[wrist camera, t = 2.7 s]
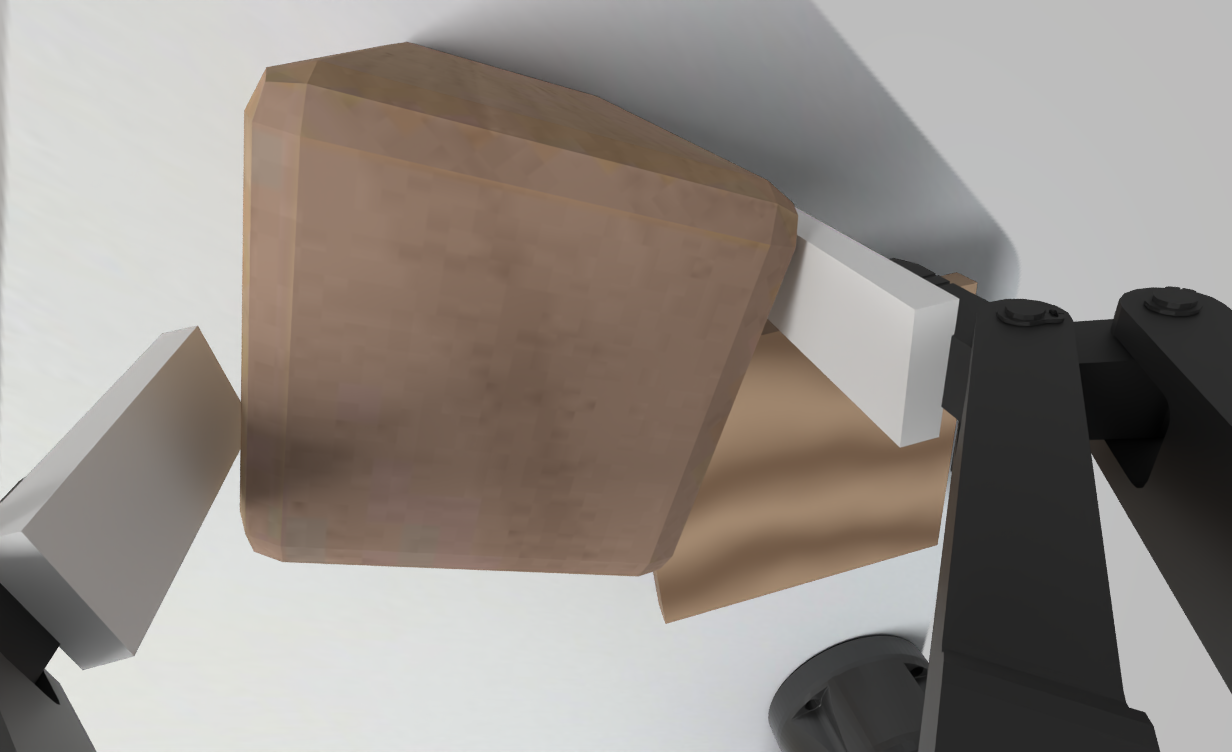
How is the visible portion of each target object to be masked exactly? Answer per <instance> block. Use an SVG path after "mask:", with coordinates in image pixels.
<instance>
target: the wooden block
mask: <svg viewBox="0 0 1232 752" xmlns="http://www.w3.org/2000/svg"><path fill="white" fill-rule="evenodd" d="M797 226H798V214H797V211H796V209H795V207H794V204H793V203H792V202H791V201H790V200H789V199H788V198H787V197H786V196H785V195H783V194H782V193H781V192H780V191H779V190H778V189H777V188H776V187H775V186H773V185H772V184H771V183H770V182H769V181H768V180H766V179H764V178H762V177H760V176H758V175H756V174H754V173H752V172H750V171H748V170H746V169H744V168H742V167H740V166H738V165H736V164H734V163H732V162H729V161H727V160H725V159H723V158H721V157H719V156H717V155H715V154H713V153H711V152H709V151H707V150H705V149H703V148H701V147H699V146H697V145H695V144H693V143H691V142H689V141H687V140H685V139H683V138H681V137H679V136H677V135H675V134H673V133H671V132H669V131H667V130H664V129H662V128H660V127H658V126H656V125H654V124H652V123H650V122H648V121H646V120H644V119H642V118H640V117H638V116H636V115H634V114H632V113H630V112H628V111H626V110H624V109H622V108H620V107H618V106H616V105H614V104H612V103H610V102H608V101H606V100H604V99H601V98H599V97H597V96H594V95H591V94H587V93H584V92H580V91H577V90H573V89H570V88H566V87H563V86H559V85H556V84H552V83H549V82H545V81H542V80H538V79H535V78H531V77H528V76H524V75H521V74H517V73H514V72H510V71H507V70H503V69H500V68H496V67H493V66H489V65H486V64H483V63H479V62H476V61H472V60H469V59H465V58H462V57H458V56H455V55H451V54H448V53H444V52H441V51H437V50H434V49H430V48H427V47H423V46H420V45H416V44H413V43H409V42H404V43H397V44H390V45H384V46H379V47H373V48H368V49H363V50H357V51H352V52H347V53H341V54H336V55H330V56H325V57H320V58H314V59H309V60H304V61H298V62H293V63H288V64H282V65H277V66H271V67H266V69H265V71H264V73H263V75H262V77H261V79H260V81H259V83H258V85H257V87H256V89H255V91H254V93H253V95H252V97H251V99H250V101H249V103H248V105H247V107H246V109H245V110H244V187H243V276H242V366H241V456H240V513H241V517H242V521H243V526H244V530H245V534H246V536H247V538H248V540H249V542H250V544H251V546H252V548H253V550H254V552H257V553H260V554H262V555H265V556H268V557H271V558H273V559H276V560H279V561H282V562H297V563H322V564H346V565H371V566H396V567H420V568H445V569H470V570H495V571H519V572H544V573H569V574H593V575H618V576H641V575H644V574H647V573H650V572H653V571H656V570H660V569H661V568H662V567H663V566H664V564H665V563H666V562H667V561H668V560H669V559H670V558H671V557H672V556H673V554H674V551H675V549H676V546H677V544H678V541H679V539H680V536H681V534H682V531H683V529H684V526H685V524H686V521H687V519H688V516H689V514H690V511H691V509H692V506H693V504H694V501H695V499H696V496H697V494H698V491H699V489H700V486H701V484H702V481H703V479H704V476H705V474H706V471H707V469H708V466H709V464H710V461H711V459H712V456H713V454H714V451H715V449H716V446H717V444H718V441H719V439H720V436H721V434H722V431H723V429H724V426H725V424H726V421H727V419H728V416H729V414H730V411H731V409H732V406H733V404H734V401H735V399H736V396H737V394H738V391H739V389H740V386H741V384H742V381H743V379H744V376H745V374H746V371H747V369H748V366H749V364H750V361H751V359H752V356H753V354H754V351H755V348H756V346H757V343H758V341H759V338H760V336H761V333H762V331H763V328H764V326H765V323H766V321H767V318H768V316H769V313H770V311H771V308H772V306H773V303H774V301H775V298H776V296H777V293H778V291H779V288H780V286H781V283H782V281H783V278H784V276H785V273H786V271H787V268H788V266H789V263H790V261H791V258H792V256H793V253H794V251H795V248H796V238H797Z"/></svg>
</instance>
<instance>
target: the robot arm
mask: <svg viewBox="0 0 1232 752" xmlns="http://www.w3.org/2000/svg"><path fill="white" fill-rule="evenodd" d="M795 209H796V211H797V214H798V226H797V238H796V248H795V251H794V253H793V256H792V258H791V261H790V263H789V266H788V268H787V271H786V273H785V276H784V278H783V281H782V283H781V286H780V288H779V291H778V293H777V296H776V298H775V301H774V303H773V306H772V308H771V311H770V313H769V316H768V318H767V319H768V320H769V321H770V322H771V323H772V324H773V325H774V326H775V327H776V328H777V329H779V330H780V331H781V332H782V333H783V334H784V335H785V336H786V337H787V338H788V339H789V340H790V341H791V342H792V343H793V344H794V345H795V346H796V347H797V348H798V349H799V350H800V351H801V352H802V353H803V354H804V355H805V356H806V357H807V358H808V359H809V360H810V361H811V362H812V363H813V364H815V365H816V366H817V367H818V368H819V369H820V370H821V371H822V372H823V373H824V374H825V375H826V376H827V377H828V378H829V379H830V380H831V381H832V382H833V383H834V384H835V385H836V386H837V387H838V388H839V389H840V390H841V391H842V392H843V393H844V394H845V395H846V396H847V397H848V398H849V399H851V400H852V401H853V402H854V403H855V404H856V405H857V406H858V407H859V408H860V409H861V410H862V411H863V412H864V413H865V414H866V415H867V416H868V417H869V418H870V419H871V420H872V421H873V422H874V423H875V424H876V425H877V426H878V427H879V428H880V429H881V430H882V431H883V432H884V433H885V434H887V435H888V436H889V437H890V438H891V439H892V440H893V441H894V442H895V443H896V444H897V445H898V446H899V447H904V446H908V445H912V444H915V443H919V442H923V441H926V440H930V439H934V438H937V437H939V433H940V426H941V420H942V413H943V409H945V410H946V411H947V412H948V413H950V414H951V415H952V416H953V417H955V418H956V419H957V420H958V421H959V423H958V429H957V435H956V441H955V447H954V453H953V459H952V465H951V471H952V476H951V484H950V492H949V500H948V509H947V517H946V525H945V533H944V542H943V550H942V558H941V567H940V575H939V583H938V591H937V600H936V608H935V617H934V625H933V633H932V641H931V649H930V658H929V663H928V661H927V660H926V659H925V658H924V656H923V655H922V653H921V652H920V650H919V649H918V648H917V647H916V646H915V645H914V644H912V643H911V642H909V641H907V640H905V639H902V638H899V637H893V636H871V637H865V638H860V639H856V640H852V641H849V642H846V643H843V644H840V645H837V646H835V647H833V648H831V649H828V650H826V651H824V652H823V653H821V654H819V655H817V656H816V657H814V658H812V659H811V660H809V661H808V662H806V663H805V664H804V665H802V666H801V667H800V668H798V669H797V670H796V671H795V672H794V673H793V674H792V675H791V676H790V677H789V678H788V679H787V680H786V681H785V682H784V683H783V684H782V686H781V687H780V688H779V690H778V691H777V693H776V694H775V696H774V698H773V700H772V702H771V705H770V709H769V724H770V727H771V729H772V731H773V734H774V736H775V738H776V740H777V743H778V745H779V747H780V749H781V751H782V752H1160V750H1159V745H1158V742H1157V738H1156V734H1155V730H1154V726H1153V724H1152V723H1151V721H1150V720H1149V718H1148V716H1147V715H1146V713H1145V712H1142V711H1139V710H1135V709H1132V708H1129V707H1128V705H1127V703H1126V700H1125V696H1124V691H1123V685H1122V677H1121V670H1120V663H1119V656H1118V648H1117V640H1116V633H1115V626H1114V619H1113V611H1112V604H1111V597H1110V589H1109V582H1108V574H1107V567H1106V560H1105V553H1104V545H1103V537H1102V530H1101V523H1100V515H1099V508H1098V501H1097V493H1096V486H1095V479H1094V472H1093V464H1092V457H1091V454H1092V455H1093V457H1094V459H1095V460H1096V462H1097V464H1098V466H1099V467H1100V469H1101V471H1102V472H1103V474H1104V476H1105V478H1106V479H1107V481H1108V482H1109V484H1110V486H1111V488H1112V489H1113V491H1114V493H1115V494H1116V496H1117V498H1118V500H1119V502H1120V503H1121V505H1122V507H1123V508H1124V510H1125V511H1126V514H1127V515H1128V517H1129V519H1130V520H1131V522H1132V524H1133V526H1134V527H1135V529H1136V530H1137V532H1138V534H1139V536H1140V538H1141V539H1142V541H1143V543H1144V544H1145V546H1146V548H1147V550H1148V551H1149V553H1150V555H1151V556H1152V558H1153V560H1154V561H1155V563H1156V565H1157V566H1158V568H1159V570H1160V572H1161V573H1162V575H1163V577H1164V579H1165V580H1166V582H1167V584H1168V585H1169V587H1170V589H1171V591H1172V592H1173V594H1174V596H1175V597H1176V599H1177V601H1178V602H1179V604H1180V606H1181V608H1182V609H1183V611H1184V613H1185V615H1186V616H1187V618H1188V620H1189V621H1190V623H1191V625H1192V626H1193V628H1194V630H1195V632H1196V633H1197V635H1198V637H1199V639H1200V640H1201V642H1202V644H1203V645H1204V647H1205V649H1206V650H1207V652H1208V653H1209V656H1210V657H1211V659H1212V661H1213V662H1214V664H1215V666H1216V668H1217V669H1218V671H1219V673H1220V674H1221V676H1222V678H1223V680H1224V681H1225V683H1226V685H1227V687H1228V688H1229V690H1230V692H1231V693H1232V310H1231V309H1230V308H1229V307H1227V306H1226V305H1225V304H1223V303H1222V302H1220V301H1218V300H1216V299H1214V298H1212V297H1210V296H1207V295H1203V294H1200V293H1197V292H1196V291H1194V290H1190V289H1185V288H1183V289H1180V288H1179V287H1165V288H1144V289H1136V290H1133V291H1130V292H1127V293H1124V294H1123V296H1122V297H1121V298H1120V299H1119V302H1118V305H1117V309H1116V312H1115V315H1114V319H1108V320H1093V321H1079V322H1073V320H1072V318H1071V316H1070V315H1069V313H1068V312H1066V311H1064V310H1063V309H1061V308H1059V307H1057V306H1055V305H1051V304H1048V303H1045V302H1041V301H1034V300H1027V299H1004V300H998V301H993V302H988V301H986V300H984V299H982V298H981V297H979V296H977V295H975V294H973V293H971V292H969V291H967V290H966V289H964V288H962V287H960V286H958V285H956V284H954V283H951V284H950V281H949V280H947V279H945V278H943V277H941V276H939V275H938V276H936V275H935V273H934V272H932V271H930V270H928V269H926V268H924V267H922V266H921V265H919V264H915V263H911V262H907V261H903V260H899V259H895V258H892V259H887V258H885V257H884V256H882V255H880V254H878V253H876V252H875V251H873V250H871V249H869V248H868V247H866V246H864V245H862V244H860V243H859V242H857V241H855V240H853V239H851V238H850V237H848V236H846V235H844V234H842V233H841V232H839V231H837V230H835V229H834V228H832V227H830V226H828V225H826V224H825V223H823V222H821V221H819V220H817V219H816V218H814V217H812V216H810V215H808V214H807V213H805V212H803V211H801V210H799V209H798V208H796V207H795ZM240 449H241V402H240V400H239V398H238V396H237V394H236V393H235V391H234V389H233V387H232V386H231V384H230V382H229V380H228V378H227V377H226V375H225V373H224V371H223V370H222V368H221V366H220V364H219V363H218V361H217V359H216V357H215V355H214V354H213V352H212V350H211V348H210V347H209V345H208V343H207V341H206V339H205V338H204V336H203V334H202V332H201V331H200V329H199V327H198V326H194V327H189V328H185V329H180V330H175V331H171V332H166V333H162V334H161V335H160V336H159V337H158V338H157V339H156V340H155V341H154V343H153V344H152V345H151V346H150V347H149V348H148V349H147V350H146V351H145V352H144V353H143V354H142V355H141V356H140V357H139V358H138V359H137V360H136V361H135V363H134V364H133V365H132V366H131V367H130V368H129V369H128V370H127V371H126V372H125V373H124V374H123V375H122V376H121V377H120V378H119V379H118V380H117V381H116V382H115V384H114V385H113V386H112V387H111V388H110V389H109V390H108V391H107V392H106V393H105V394H104V395H103V396H102V397H101V398H100V399H99V400H98V401H97V402H96V404H95V405H94V406H93V407H92V408H91V409H90V410H89V411H88V412H87V413H86V414H85V415H84V416H83V417H82V418H81V419H80V420H79V421H78V422H77V423H76V425H75V426H74V427H73V428H72V429H71V430H70V431H69V432H68V433H67V434H66V435H65V436H64V437H63V438H62V439H61V440H60V441H59V442H58V443H57V445H56V446H55V447H54V448H53V449H52V450H51V451H50V452H49V453H48V454H47V455H46V456H45V457H44V458H43V459H42V460H41V461H40V462H39V463H38V464H37V466H36V467H35V468H34V469H33V470H32V471H31V472H30V473H29V474H28V475H27V476H26V477H25V478H23V479H22V480H20V481H19V482H18V483H17V484H16V485H15V486H14V487H13V488H12V489H11V490H10V491H9V492H8V494H7V495H6V496H5V497H4V498H3V499H2V500H1V501H0V752H96V750H95V748H94V746H93V744H92V743H91V741H90V739H89V737H88V735H87V733H86V731H85V729H84V728H83V726H82V724H81V722H80V720H79V718H78V716H77V715H76V713H75V711H74V709H73V707H72V705H71V703H70V701H69V700H68V698H67V696H66V694H65V692H64V690H63V688H62V687H61V685H60V683H59V682H58V681H57V680H56V679H55V678H54V677H53V676H52V675H50V674H49V673H48V672H47V671H46V670H45V667H46V666H47V664H48V662H49V661H50V659H51V658H52V656H53V655H54V653H55V652H56V650H57V648H58V647H60V648H61V649H62V650H63V651H64V652H65V653H66V654H67V655H68V656H69V657H70V658H71V659H72V660H73V661H74V662H75V663H76V664H77V665H78V666H79V667H80V668H81V669H82V670H85V669H89V668H93V667H96V666H100V665H104V664H107V663H111V662H115V661H118V660H122V659H126V658H129V657H133V656H135V654H136V652H137V650H138V648H139V646H140V644H141V642H142V640H143V638H144V636H145V634H146V632H147V630H148V628H149V626H150V624H151V622H152V620H153V618H154V617H155V615H156V613H157V611H158V609H159V607H160V605H161V603H162V601H163V599H164V597H165V595H166V593H167V591H168V589H169V587H170V585H171V583H172V581H173V579H174V577H175V576H176V574H177V572H178V570H179V568H180V566H181V564H182V562H183V560H184V558H185V556H186V554H187V552H188V550H189V548H190V546H191V544H192V542H193V540H194V538H195V537H196V535H197V533H198V531H199V529H200V527H201V525H202V523H203V521H204V519H205V517H206V515H207V513H208V511H209V509H210V507H211V505H212V503H213V501H214V499H215V497H216V496H217V494H218V492H219V490H220V488H221V486H222V484H223V482H224V480H225V478H226V476H227V474H228V472H229V470H230V468H231V466H232V464H233V462H234V460H235V458H236V457H237V455H238V453H239V451H240Z"/></svg>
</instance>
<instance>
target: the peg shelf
mask: <svg viewBox="0 0 1232 752" xmlns="http://www.w3.org/2000/svg"><path fill="white" fill-rule="evenodd" d="M941 277H943V278H945V279H947V280H949V281H950V284H951V283H954V284H956V285H958V286H960V287H962V288H964V289H966V290H967V291H969V292H971V293H973V294H975V295H976V289H977V282H975V281H973V280H971V279H969V278H967V277H965V276H963V275H961V274H959V273H957V272H956V273H952V274H948V275H944V276H941ZM956 420H957V419H956V418H955V417H953V416H952V415H951V414H950V413H948V412H947V411H946V410H945V409H943V413H942V420H941V426H940V433H939V437H937V438H934V439H930V440H926V441H923V442H919V443H915V444H912V445H908V446H904V447H899V446H898V445H897V444H896V443H895V442H894V441H893V440H892V439H891V438H890V437H889V436H888V435H887V434H885V433H884V432H883V431H882V430H881V429H880V428H879V427H878V426H877V425H876V424H875V423H874V422H873V421H872V420H871V419H870V418H869V417H868V416H867V415H866V414H865V413H864V412H863V411H862V410H861V409H860V408H859V407H858V406H857V405H856V404H855V403H854V402H853V401H852V400H851V399H849V398H848V397H847V396H846V395H845V394H844V393H843V392H842V391H841V390H840V389H839V388H838V387H837V386H836V385H835V384H834V383H833V382H832V381H831V380H830V379H829V378H828V377H827V376H826V375H825V374H824V373H823V372H822V371H821V370H820V369H819V368H818V367H817V366H816V365H815V364H813V363H812V362H811V361H810V360H809V359H808V358H807V357H806V356H805V355H804V354H803V353H802V352H801V351H800V350H799V349H798V348H797V347H796V346H795V345H794V344H793V343H792V342H791V341H790V340H789V339H788V338H787V337H786V336H785V335H784V334H783V333H782V332H781V331H780V330H779V329H777V328H776V327H775V326H774V325H773V324H772V323H771V322H770V321H769V320H768V319H767V321H766V323H765V326H764V328H763V331H762V333H761V336H760V338H759V341H758V343H757V346H756V348H755V351H754V354H753V356H752V359H751V361H750V364H749V366H748V369H747V371H746V374H745V376H744V379H743V381H742V384H741V386H740V389H739V391H738V394H737V396H736V399H735V401H734V404H733V406H732V409H731V411H730V414H729V416H728V419H727V421H726V424H725V426H724V429H723V431H722V434H721V436H720V439H719V441H718V444H717V446H716V449H715V451H714V454H713V456H712V459H711V461H710V464H709V466H708V469H707V471H706V474H705V476H704V479H703V481H702V484H701V486H700V489H699V491H698V494H697V496H696V499H695V501H694V504H693V506H692V509H691V511H690V514H689V516H688V519H687V521H686V524H685V526H684V529H683V531H682V534H681V536H680V539H679V541H678V544H677V546H676V549H675V551H674V554H673V556H672V557H671V558H670V559H669V560H668V561H667V562H666V563H665V564H664V566H663V567H662V568H661V569H660V570H656V571H653V574H654V579H655V585H656V591H657V596H658V602H659V606H660V609H661V612H662V615H663V618H664V621H665V624H667V623H670V622H674V621H677V620H681V619H684V618H687V617H691V616H694V615H698V614H701V613H705V612H708V611H711V610H715V609H718V608H722V607H725V606H729V605H732V604H736V603H739V602H742V601H746V600H749V599H753V598H756V597H760V596H763V595H767V594H770V593H773V592H777V591H780V590H784V589H787V588H791V587H794V586H798V585H801V584H804V583H808V582H811V581H815V580H818V579H822V578H825V577H828V576H832V575H835V574H839V573H842V572H846V571H849V570H853V569H856V568H859V567H863V566H866V565H870V564H873V563H877V562H880V561H884V560H887V559H890V558H894V557H897V556H901V555H904V554H908V553H911V552H915V551H918V550H921V549H925V548H928V547H932V546H935V545H937V544H938V538H939V531H940V525H941V518H942V512H943V505H944V499H945V492H946V486H947V479H948V472H949V466H950V459H951V453H952V446H953V440H954V433H955V427H956Z"/></svg>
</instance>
